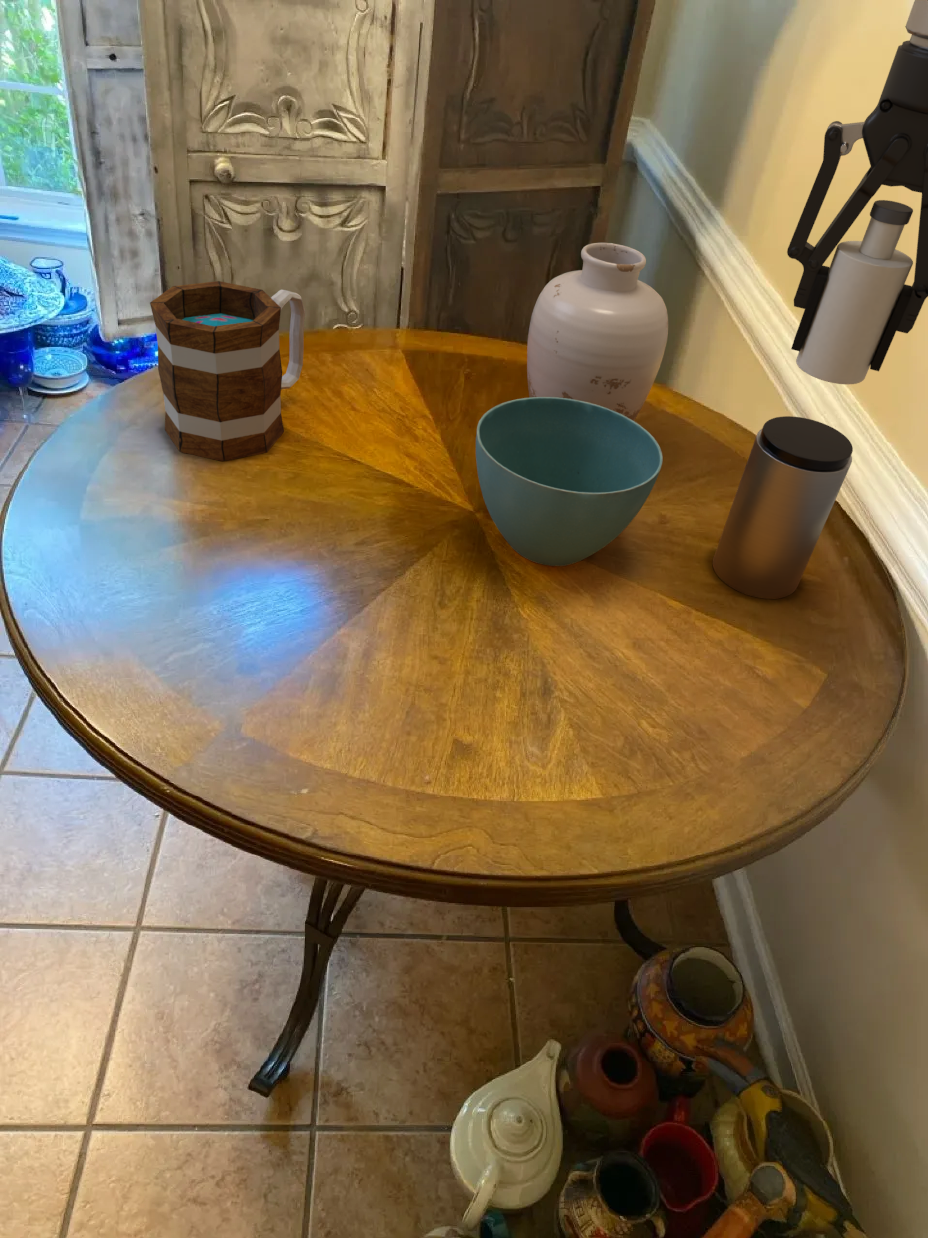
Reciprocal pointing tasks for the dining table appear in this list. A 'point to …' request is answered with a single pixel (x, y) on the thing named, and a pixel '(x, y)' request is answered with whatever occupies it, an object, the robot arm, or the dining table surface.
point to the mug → (225, 366)
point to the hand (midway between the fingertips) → (836, 353)
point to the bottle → (857, 299)
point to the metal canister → (781, 506)
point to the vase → (598, 332)
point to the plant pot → (563, 475)
